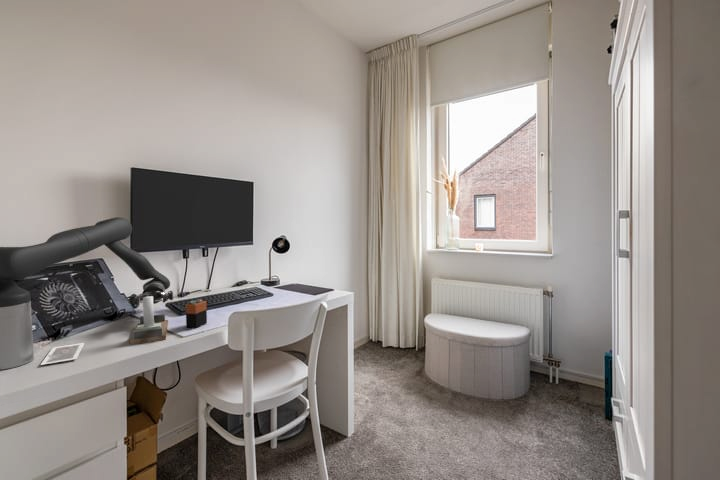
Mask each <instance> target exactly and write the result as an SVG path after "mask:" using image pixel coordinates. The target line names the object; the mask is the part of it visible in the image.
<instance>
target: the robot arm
mask: <svg viewBox="0 0 720 480" xmlns="http://www.w3.org/2000/svg"><path fill="white" fill-rule="evenodd" d="M132 232H133V226H132V224H131V222H130V221H129V220H128V219H127V218H124V217H120V216H119V217H118V216H117V217H111V218H107V219H104V220H99V221H98V222H96V223H95V224H93V225H87V226H81V227H76V228H70V229H66V230H64V231H59V232H57V233H55V234H52V235H50V237H48V238H47V240H46V241H44V242H42V243H37V244H33V245H28V246H27V245H26V246H0V370H8V369H12V368H13V369H14V368H17V367H20V366H23V365H26V364H28V363H31V362H32V361H33V360H34V359H35V357H34V356H35V355H34V353H35V351H34V339H33V338H34V333H33V318H32V301H31V300H32V299H31V293H30V291H28V290H27V289H24V288H22V287H20V286H19V285H17V284H16V282H15V280H16V281H17V280H23V279H26V278H27V277H31V276H33V275H35V274H37V273H39V272H40V271H42V270H43V271H44V269H47V268H48V267H50V266H53V265H56V264H59V263H62V262H65V261H67V260H70V259H74V258H77V257H79V256H81V255H84V254H86V253H89V252H91V251H94V250H95V249H98V248H100V247H102V246H105V247H107V248H108V249H109V250H110V251H111V252H112V253H113V254H115V256H117V257H118V258H120V260H122V261H123V262H124V263H125V264H126V265H127V266H128V267H129V268H130V269H131V270H132V272H133V273H134V274H135V275H136V277H138V278H139V280H141V281H146V282H145V283H144V284H142V289H143V290H142V293H140V294H138V295H137V294H136V293H132V294H131V295H130V296H129V298H128V299H129V300H128V303H129V305H130V304H131V305H135V306H138V305H139V304H143V297H147V296H153V305H155V304H159V303H160V302H162V303H164V304H165V303H166V302H168V300H170V301H173V300H174V293H173V290H169V291H168V292H167V293H165V292H166V291H167V290H168V289H169V288H170V287H171V281H170V279H169V278H168V277H167V276H165V275H164V274H162V273H160V272H159V271H158V270H156V268H155V267H154V266H153V265H152V263H151V262H150V261H149V260H148V258H146V256H145V255H143V254H141V253H139V252H138V251H135V250H134V249H132V248H130V247H128V246H127V245H125V243H123V242H122V241H123V240H126V239H127V238H129V237H130V236H131V235H132Z"/></svg>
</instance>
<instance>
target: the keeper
mask: <svg viewBox="0 0 720 480" xmlns="http://www.w3.org/2000/svg"><path fill="white" fill-rule="evenodd" d="M142 306H143V307H142V308H143V309H142V310H143V315H142V316H144V325H139V326H137V325H136V326H137V328H136V327H135V328H136V330H144V329H152V328H159V327H161V323H155V324H154V315H155V311H154V310H155V309H154V304H153V296H147V297H143V303H142Z"/></svg>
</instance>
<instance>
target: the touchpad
mask: <svg viewBox="0 0 720 480" xmlns="http://www.w3.org/2000/svg"><path fill="white" fill-rule="evenodd" d="M84 345H85V342H81V343H74V344H68V345H66V344H65V345H61V346H53V347H52V348H51V349H50V351H49V352H48V354H47V355H46V356H45V358H44V359H43V361H41V363H40V366H42V365H48V364H54V363H55V364H56V363H60V362H67V361H72V360H77V359H78V357H79V355H80V354H81V351H82V349H83V347H84Z"/></svg>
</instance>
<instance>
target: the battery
mask: <svg viewBox="0 0 720 480" xmlns="http://www.w3.org/2000/svg"><path fill="white" fill-rule="evenodd" d="M207 310H208V309H207V301H206V300H202V299H201V298H198V299H197V300H191V301H190V302H189V303H186V304H185V325H186V326H185V327H186V328H188V329H197V328H198V329H199V328H200V327H202V326H204V325H207V323H208V322H207V321H208V319H207V318H208V315H207Z"/></svg>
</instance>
